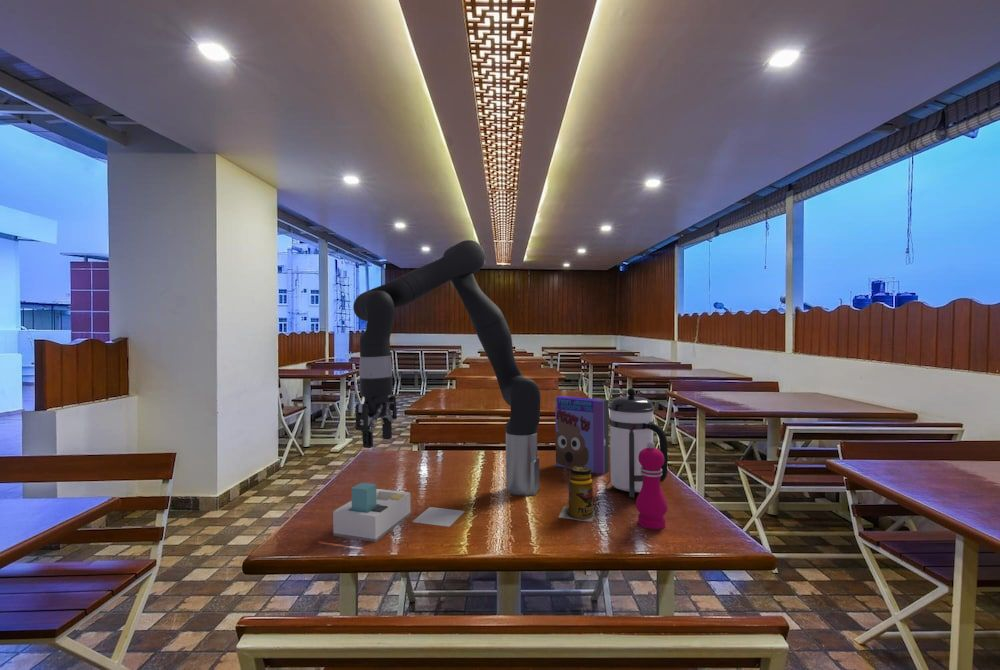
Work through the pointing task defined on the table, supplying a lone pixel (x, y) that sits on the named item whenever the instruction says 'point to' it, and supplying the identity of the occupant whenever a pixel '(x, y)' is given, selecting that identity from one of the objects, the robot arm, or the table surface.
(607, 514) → the table surface
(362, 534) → the socket box
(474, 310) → the robot arm
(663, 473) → the coffee press
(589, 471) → the condiment
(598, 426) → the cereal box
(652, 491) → the pepper mill
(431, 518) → the mat
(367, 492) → the plug
